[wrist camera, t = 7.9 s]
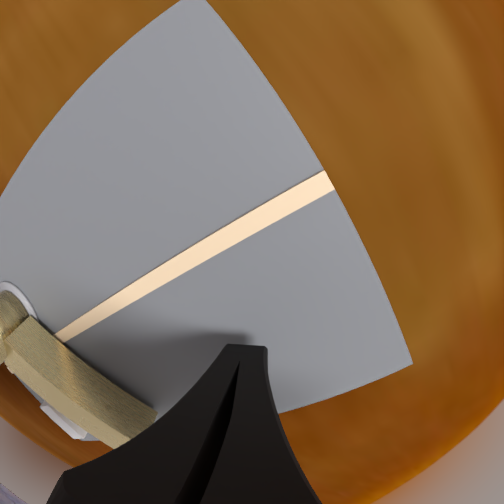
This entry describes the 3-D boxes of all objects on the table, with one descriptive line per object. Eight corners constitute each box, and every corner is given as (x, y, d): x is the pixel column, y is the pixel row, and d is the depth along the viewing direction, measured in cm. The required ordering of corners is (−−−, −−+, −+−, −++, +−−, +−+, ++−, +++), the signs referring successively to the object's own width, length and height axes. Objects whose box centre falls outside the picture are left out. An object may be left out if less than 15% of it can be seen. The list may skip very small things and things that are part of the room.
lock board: (-34, 288, 15) (-59, 307, 12) (205, 0, 7) (172, -38, 4) (86, 432, 19) (71, 457, 16) (406, 347, 11) (426, 400, 8)
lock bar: (-1, 311, 13) (-31, 337, 10) (0, 280, 11) (-35, 307, 9) (141, 426, 14) (123, 464, 11) (160, 409, 13) (140, 454, 10)
